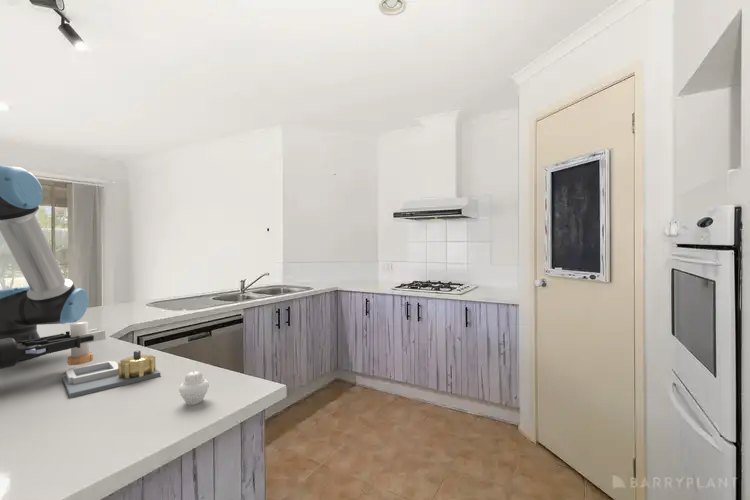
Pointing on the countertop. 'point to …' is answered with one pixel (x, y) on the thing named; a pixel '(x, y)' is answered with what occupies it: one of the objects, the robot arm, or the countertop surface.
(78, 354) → the white cylinder orange base
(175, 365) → the countertop surface
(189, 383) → the muffin
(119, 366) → the sun gear
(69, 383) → the carrier plate
